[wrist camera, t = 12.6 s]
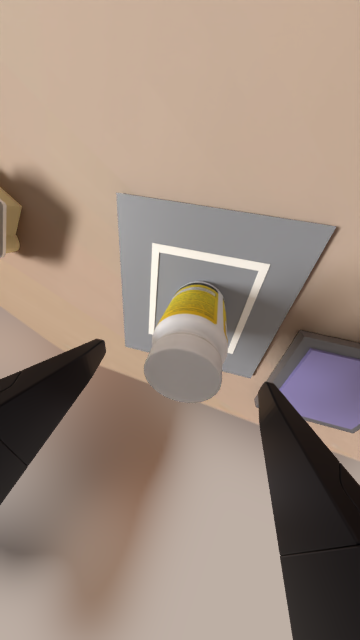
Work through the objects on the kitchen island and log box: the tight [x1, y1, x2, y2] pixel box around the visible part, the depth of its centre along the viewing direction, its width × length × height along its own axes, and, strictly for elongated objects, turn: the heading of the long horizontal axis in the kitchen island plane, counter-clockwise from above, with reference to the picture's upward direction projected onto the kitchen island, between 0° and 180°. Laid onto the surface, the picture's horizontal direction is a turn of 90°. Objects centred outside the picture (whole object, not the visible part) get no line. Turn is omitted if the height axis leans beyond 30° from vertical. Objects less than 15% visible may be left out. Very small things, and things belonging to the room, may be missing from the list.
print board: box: [116, 193, 336, 378], centre depth 15 cm, size 15×15×1 cm
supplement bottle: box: [144, 281, 228, 403], centre depth 12 cm, size 5×5×8 cm
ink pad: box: [254, 330, 360, 433], centre depth 17 cm, size 11×11×1 cm
